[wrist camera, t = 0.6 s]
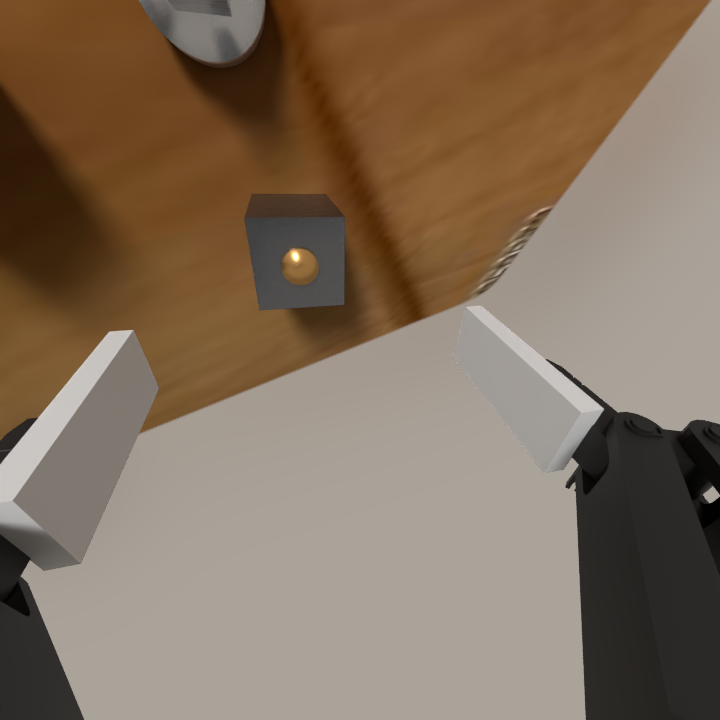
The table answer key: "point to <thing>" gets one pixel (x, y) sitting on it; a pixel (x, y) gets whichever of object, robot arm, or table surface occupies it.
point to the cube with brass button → (296, 250)
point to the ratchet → (210, 28)
